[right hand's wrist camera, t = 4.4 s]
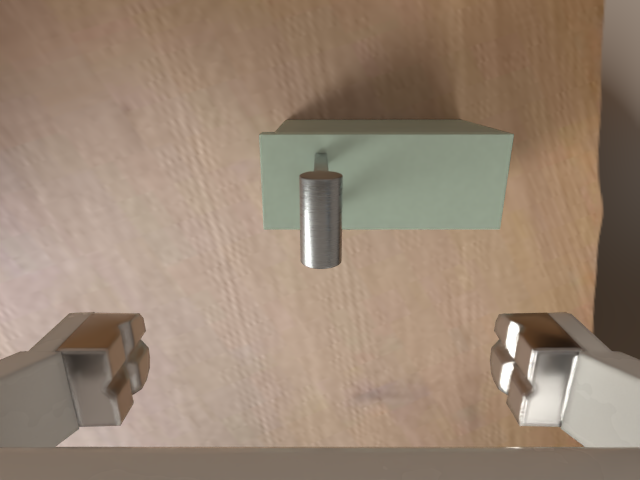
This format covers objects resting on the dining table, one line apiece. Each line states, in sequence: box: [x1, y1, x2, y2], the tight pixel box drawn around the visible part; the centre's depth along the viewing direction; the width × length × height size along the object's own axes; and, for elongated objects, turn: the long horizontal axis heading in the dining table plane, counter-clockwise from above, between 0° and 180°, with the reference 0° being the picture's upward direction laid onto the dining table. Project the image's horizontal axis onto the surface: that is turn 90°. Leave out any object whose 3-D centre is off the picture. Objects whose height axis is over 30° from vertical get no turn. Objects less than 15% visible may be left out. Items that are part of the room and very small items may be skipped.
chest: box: [275, 120, 504, 132], centre depth 31 cm, size 14×6×9 cm, turn 90°
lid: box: [259, 132, 514, 269], centre depth 22 cm, size 14×6×9 cm, turn 90°
